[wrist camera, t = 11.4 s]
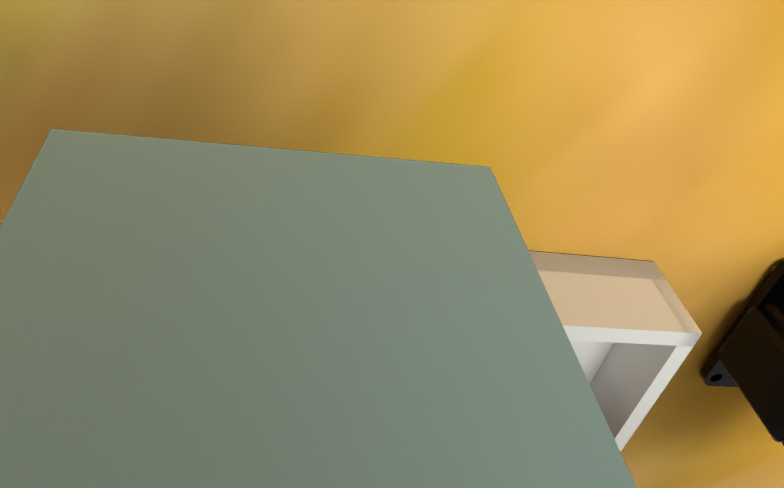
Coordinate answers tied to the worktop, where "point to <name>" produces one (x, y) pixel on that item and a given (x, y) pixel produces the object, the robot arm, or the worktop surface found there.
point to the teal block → (280, 326)
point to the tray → (619, 330)
